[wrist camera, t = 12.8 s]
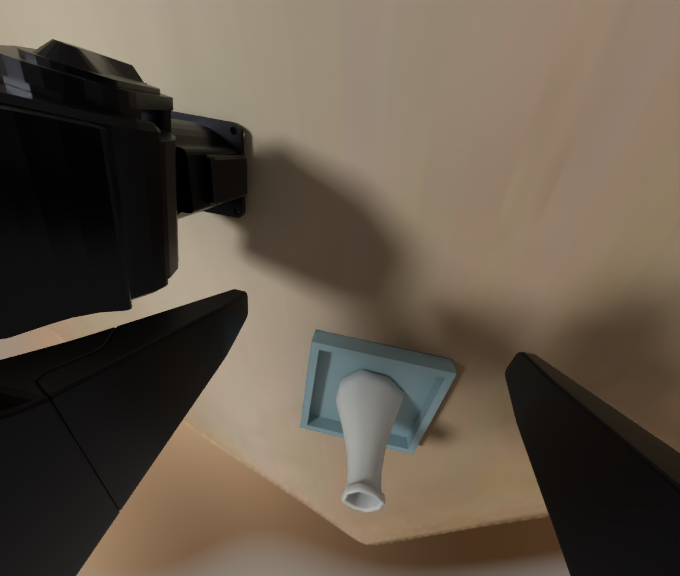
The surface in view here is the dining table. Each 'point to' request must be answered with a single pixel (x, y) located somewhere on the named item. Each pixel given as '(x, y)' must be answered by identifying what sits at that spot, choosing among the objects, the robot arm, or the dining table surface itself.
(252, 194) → the dining table surface
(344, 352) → the tray
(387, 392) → the flask
